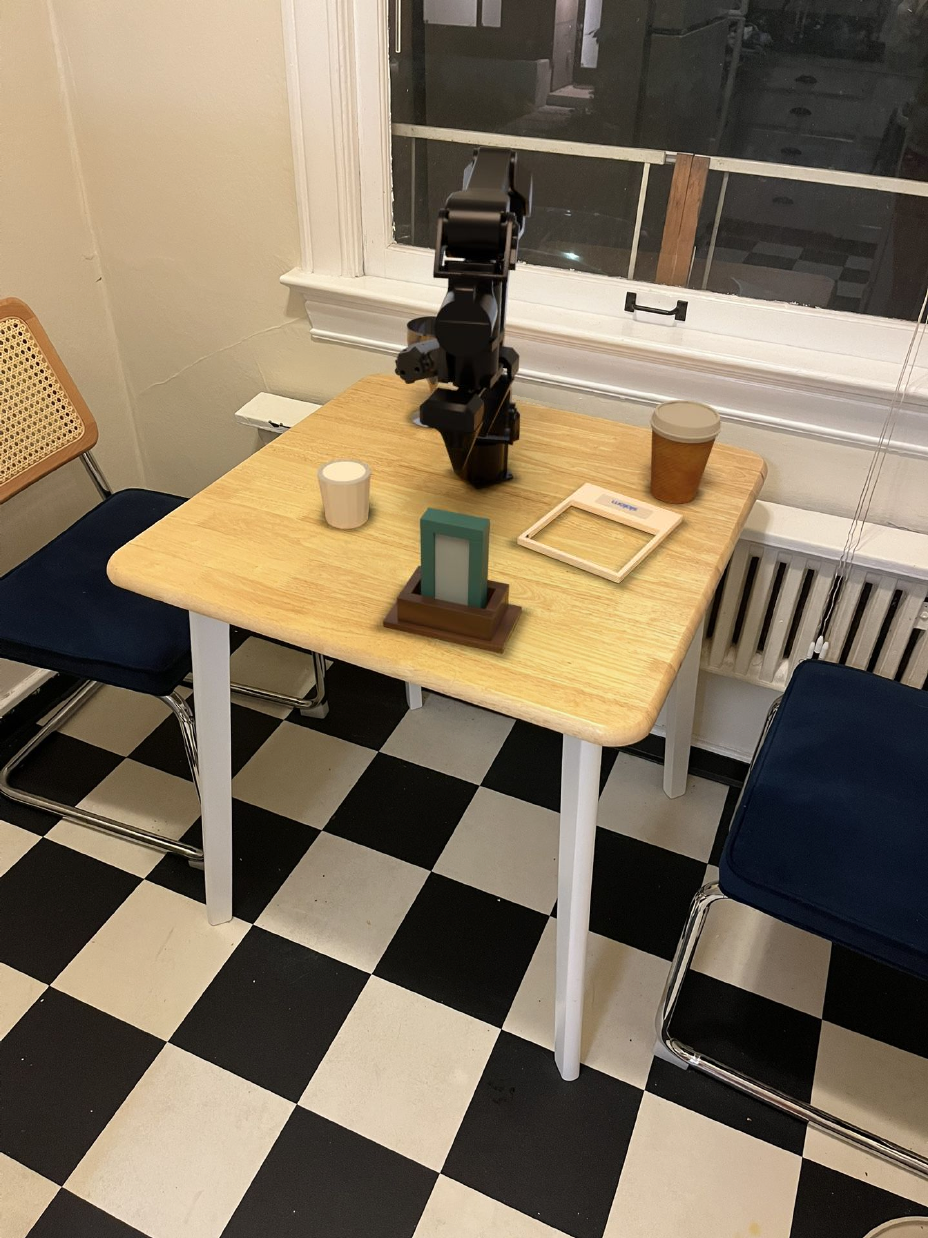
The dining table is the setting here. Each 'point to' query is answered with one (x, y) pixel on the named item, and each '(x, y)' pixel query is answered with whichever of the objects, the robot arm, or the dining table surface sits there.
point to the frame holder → (455, 616)
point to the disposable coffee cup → (681, 448)
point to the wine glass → (421, 332)
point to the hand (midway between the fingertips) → (470, 452)
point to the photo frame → (614, 509)
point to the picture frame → (454, 557)
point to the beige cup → (345, 492)
